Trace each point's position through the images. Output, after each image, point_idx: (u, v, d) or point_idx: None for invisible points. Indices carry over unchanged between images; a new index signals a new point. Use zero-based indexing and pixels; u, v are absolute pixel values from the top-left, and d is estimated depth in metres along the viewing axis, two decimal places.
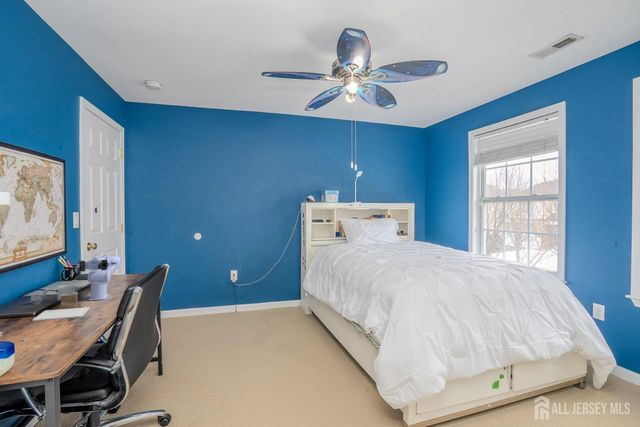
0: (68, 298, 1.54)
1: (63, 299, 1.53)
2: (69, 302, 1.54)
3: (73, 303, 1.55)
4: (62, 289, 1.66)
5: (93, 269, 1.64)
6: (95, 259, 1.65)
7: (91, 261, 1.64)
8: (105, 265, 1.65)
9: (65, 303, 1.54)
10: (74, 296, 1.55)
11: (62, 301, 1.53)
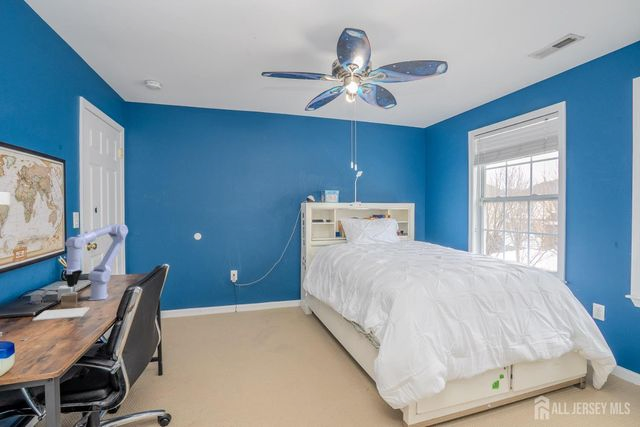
0: (68, 298, 1.54)
1: (63, 299, 1.53)
2: (69, 302, 1.54)
3: (73, 303, 1.55)
4: (62, 289, 1.66)
5: None
6: (66, 269, 1.59)
7: None
8: (71, 274, 1.57)
9: (65, 303, 1.54)
10: (74, 296, 1.55)
11: (62, 301, 1.53)
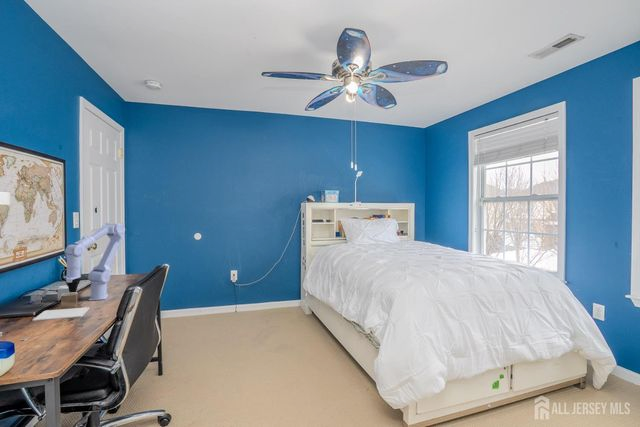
0: (68, 298, 1.54)
1: (63, 299, 1.53)
2: (69, 302, 1.54)
3: (73, 303, 1.55)
4: (62, 289, 1.66)
5: None
6: (66, 277, 1.59)
7: None
8: (72, 281, 1.59)
9: (65, 303, 1.54)
10: (74, 296, 1.55)
11: (62, 301, 1.53)
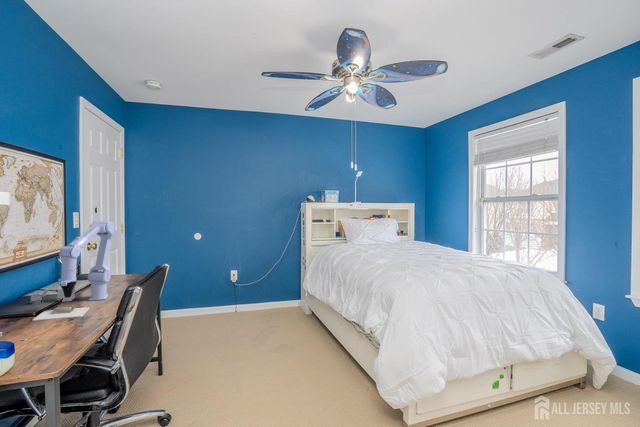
0: None
1: None
2: None
3: None
4: (62, 289, 1.66)
5: (74, 279, 1.55)
6: (60, 280, 1.52)
7: None
8: (67, 285, 1.52)
9: None
10: None
11: None
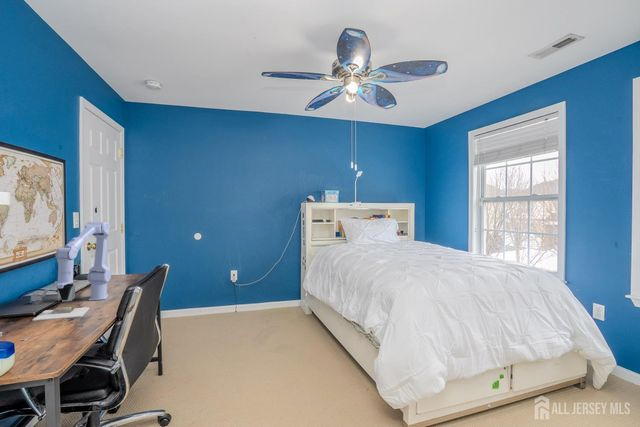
0: None
1: None
2: None
3: None
4: None
5: None
6: (57, 283, 1.47)
7: None
8: (64, 287, 1.47)
9: None
10: None
11: None
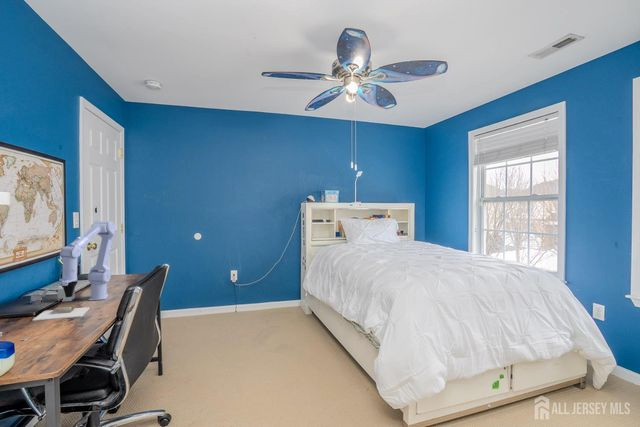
0: None
1: None
2: None
3: None
4: (62, 289, 1.66)
5: (75, 279, 1.56)
6: (61, 280, 1.53)
7: None
8: (68, 285, 1.53)
9: None
10: None
11: None
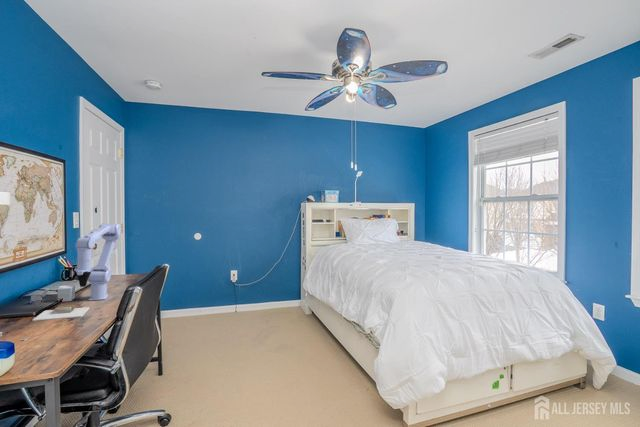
0: None
1: None
2: None
3: None
4: (62, 289, 1.66)
5: (89, 269, 1.61)
6: (76, 270, 1.58)
7: None
8: (83, 274, 1.58)
9: None
10: None
11: None
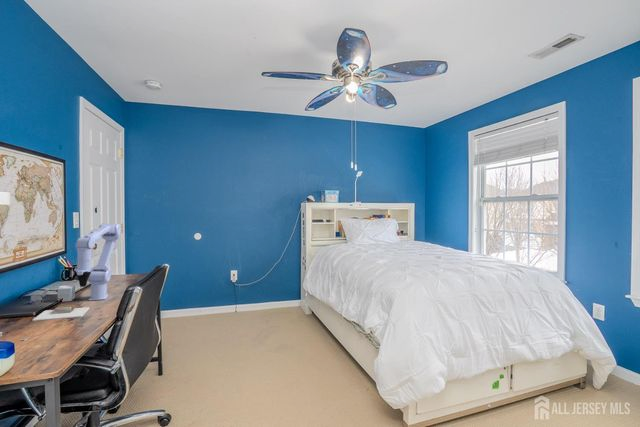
0: None
1: None
2: None
3: None
4: (62, 289, 1.66)
5: (89, 269, 1.61)
6: (76, 270, 1.58)
7: None
8: (83, 274, 1.58)
9: None
10: None
11: None
